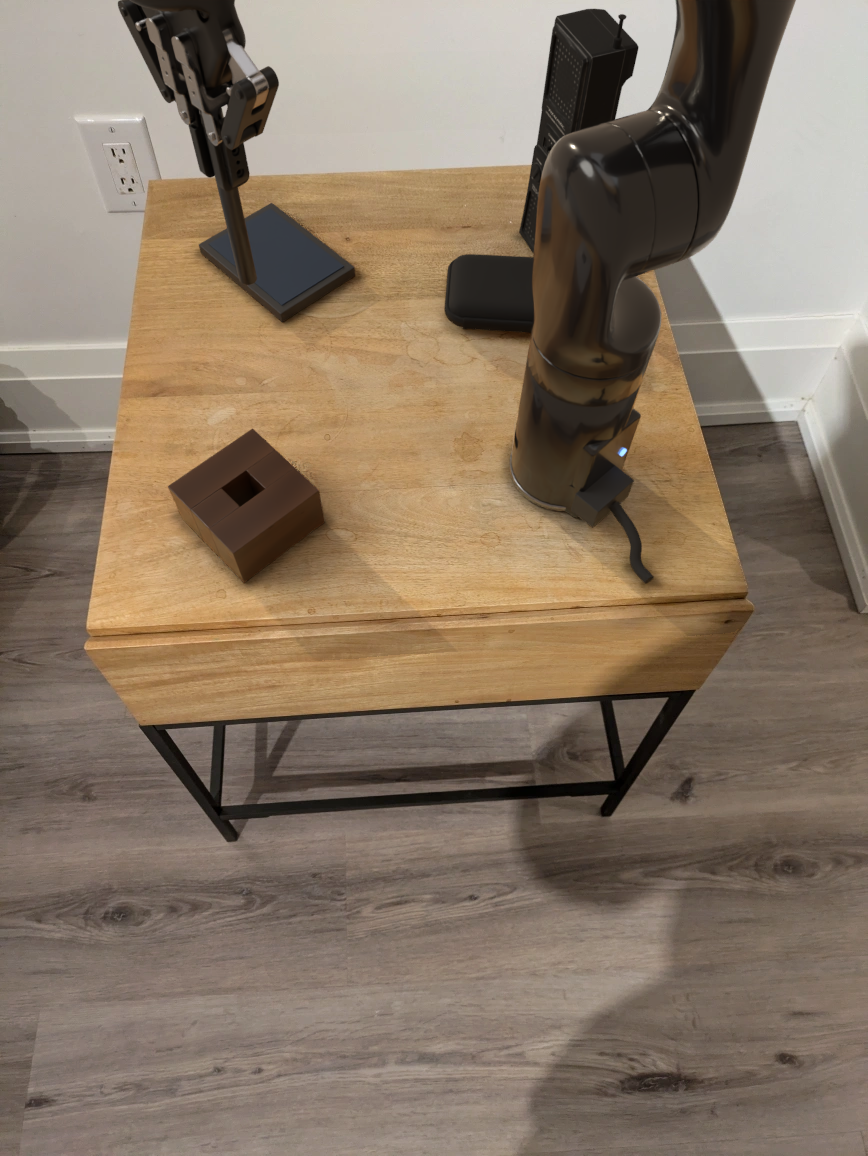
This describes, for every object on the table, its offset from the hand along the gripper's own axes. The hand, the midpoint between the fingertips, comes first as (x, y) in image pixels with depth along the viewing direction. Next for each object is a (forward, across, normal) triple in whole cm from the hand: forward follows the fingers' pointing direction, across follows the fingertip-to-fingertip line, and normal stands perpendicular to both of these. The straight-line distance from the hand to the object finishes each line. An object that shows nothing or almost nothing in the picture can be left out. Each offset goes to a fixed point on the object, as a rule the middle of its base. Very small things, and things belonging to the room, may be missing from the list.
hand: (225, 177), depth 59 cm
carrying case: (+25, +7, +26) cm, 37 cm away
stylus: (+9, 0, 0) cm, 9 cm away
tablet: (+25, -16, +13) cm, 32 cm away
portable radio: (+25, +3, +37) cm, 45 cm away
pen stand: (+25, +8, -10) cm, 28 cm away
